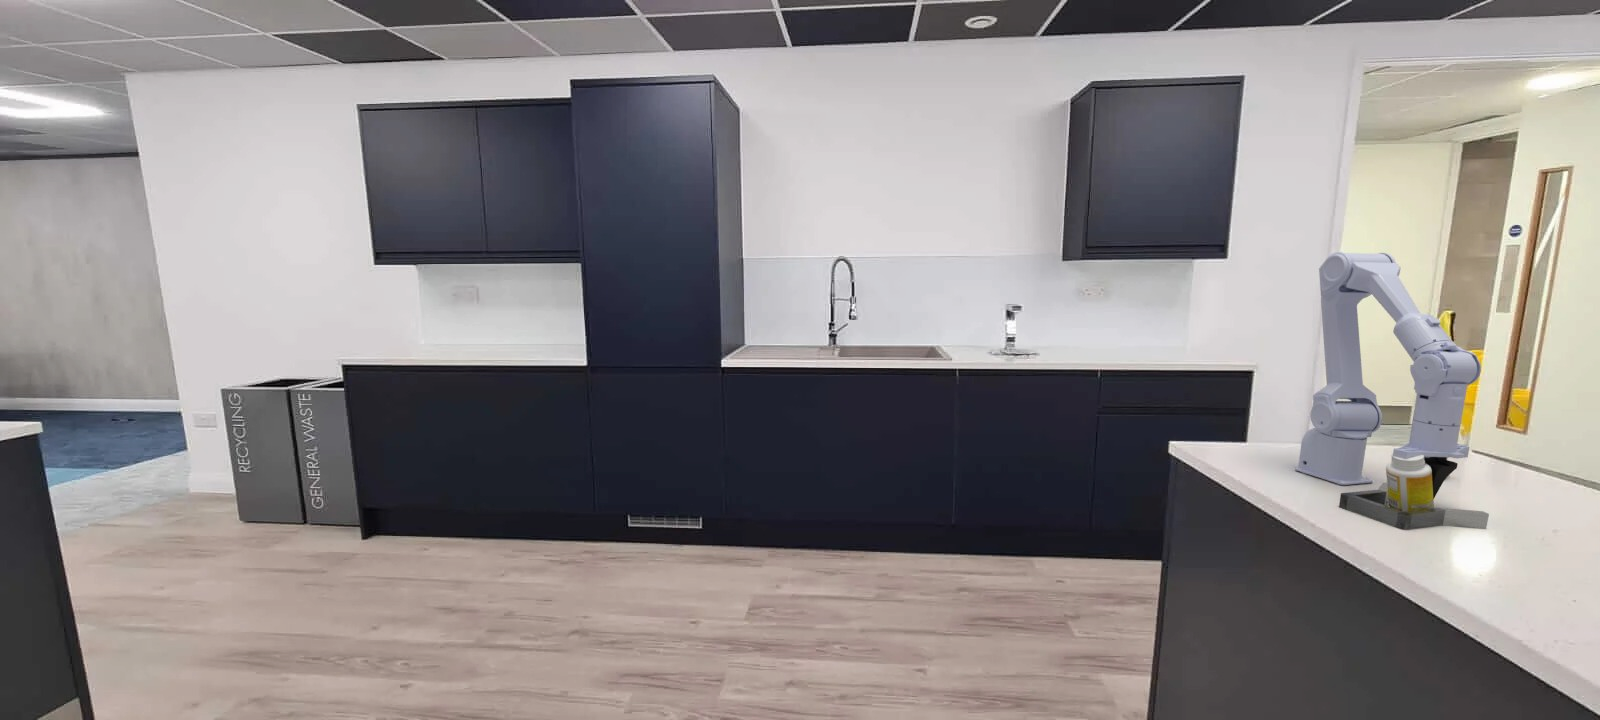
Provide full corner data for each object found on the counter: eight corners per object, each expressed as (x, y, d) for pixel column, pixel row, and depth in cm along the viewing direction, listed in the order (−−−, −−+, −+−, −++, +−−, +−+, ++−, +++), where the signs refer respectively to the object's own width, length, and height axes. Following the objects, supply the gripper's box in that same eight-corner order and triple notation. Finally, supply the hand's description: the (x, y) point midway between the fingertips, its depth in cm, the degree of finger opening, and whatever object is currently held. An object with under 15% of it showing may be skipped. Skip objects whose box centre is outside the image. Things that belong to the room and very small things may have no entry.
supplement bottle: (1440, 507, 107) (1437, 451, 105) (1424, 521, 105) (1421, 465, 103) (1398, 498, 112) (1394, 445, 110) (1382, 511, 110) (1378, 457, 108)
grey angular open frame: (1323, 501, 114) (1325, 488, 114) (1383, 495, 118) (1385, 482, 117) (1423, 536, 100) (1426, 521, 99) (1488, 528, 103) (1491, 513, 103)
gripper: (1433, 430, 102) (1419, 512, 104) (1497, 425, 105) (1483, 504, 107) (1383, 419, 109) (1371, 496, 111) (1445, 415, 112) (1432, 490, 114)
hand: (1423, 499), depth 109 cm, fingers closed
